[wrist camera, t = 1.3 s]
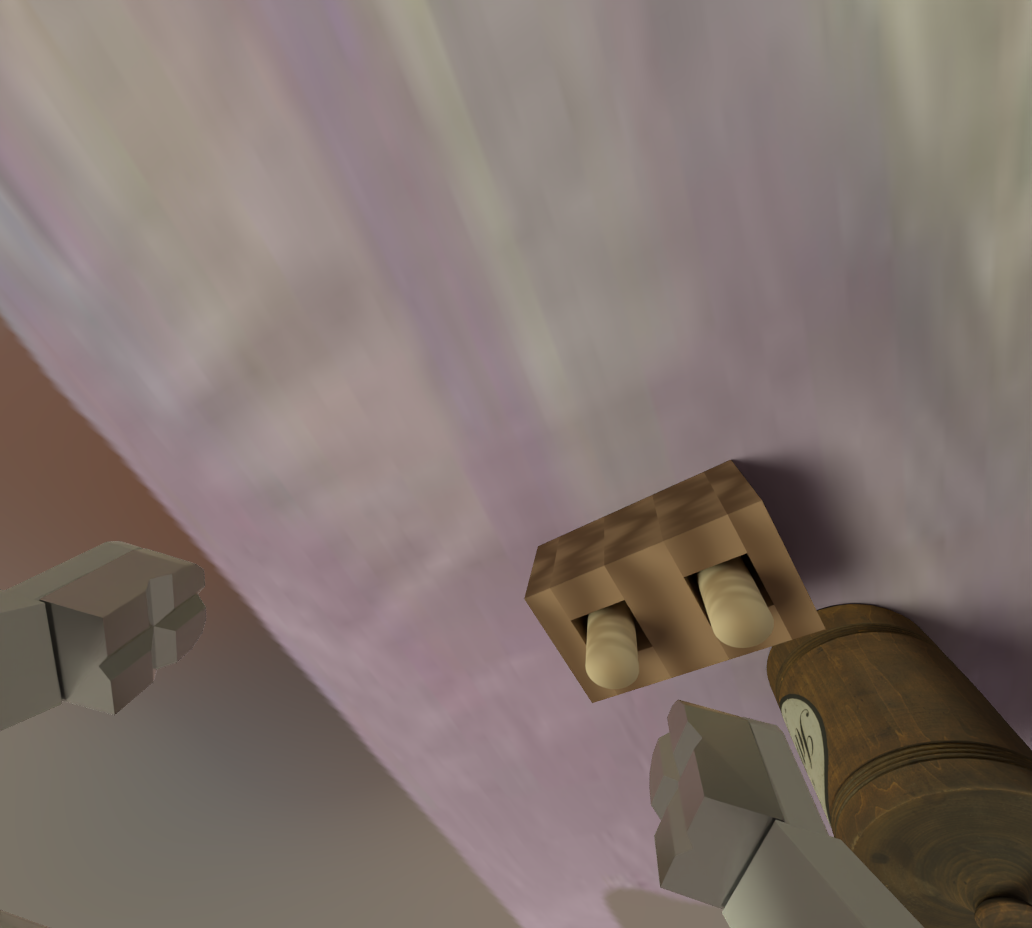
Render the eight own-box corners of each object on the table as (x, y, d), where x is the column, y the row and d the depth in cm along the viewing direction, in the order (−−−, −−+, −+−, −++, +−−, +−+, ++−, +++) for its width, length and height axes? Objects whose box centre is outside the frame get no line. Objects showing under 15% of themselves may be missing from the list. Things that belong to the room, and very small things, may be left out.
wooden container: (733, 658, 49) (825, 917, 29) (865, 574, 44) (1094, 819, 23) (830, 745, 51) (983, 1051, 30) (968, 675, 45) (1268, 987, 25)
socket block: (730, 459, 42) (761, 500, 34) (784, 566, 45) (825, 629, 36) (538, 546, 49) (524, 598, 40) (594, 636, 51) (592, 702, 43)
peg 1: (620, 579, 43) (623, 639, 35) (640, 614, 43) (648, 680, 36) (580, 595, 44) (576, 656, 36) (601, 628, 45) (600, 695, 37)
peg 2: (730, 535, 39) (759, 591, 32) (750, 573, 40) (783, 636, 33) (684, 553, 41) (702, 611, 33) (704, 590, 42) (726, 655, 34)
